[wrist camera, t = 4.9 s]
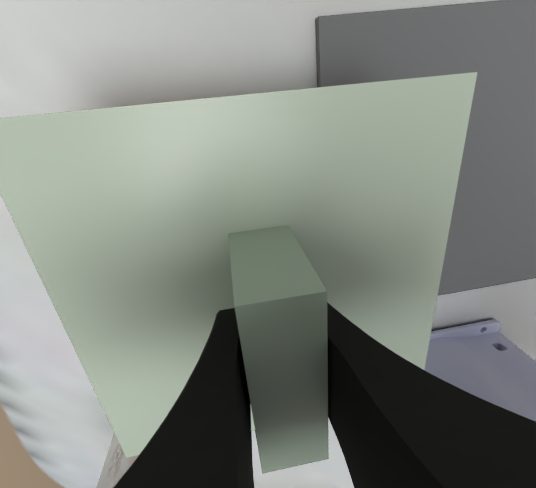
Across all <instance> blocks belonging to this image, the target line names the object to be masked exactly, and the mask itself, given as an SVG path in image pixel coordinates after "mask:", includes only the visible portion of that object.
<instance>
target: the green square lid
mask: <svg viewBox="0 0 536 488" xmlns="http://www.w3.org/2000/svg"><path fill="white" fill-rule="evenodd" d="M476 77H477V72H473V73H462V74H452V75H442V76H431V77H421V78H410V79H400V80H390V81H379V82H369V83H359V84H348V85H338V86H328V87H317V88H307V89H297V90H286V91H276V92H266V93H255V94H245V95H235V96H224V97H214V98H204V99H193V100H183V101H172V102H162V103H152V104H141V105H131V106H121V107H110V108H100V109H90V110H79V111H69V112H59V113H48V114H38V115H28V116H17V117H7V118H0V194H1V196H2V198H3V200H4V203H5V205H6V207H7V209H8V211H9V213H10V215H11V217H12V219H13V221H14V223H15V226H16V228H17V230H18V232H19V234H20V236H21V238H22V240H23V242H24V244H25V246H26V249H27V251H28V253H29V255H30V257H31V259H32V261H33V263H34V265H35V267H36V270H37V272H38V274H39V276H40V278H41V280H42V282H43V284H44V286H45V288H46V290H47V293H48V295H49V297H50V299H51V301H52V303H53V305H54V307H55V309H56V311H57V313H58V316H59V318H60V320H61V322H62V324H63V326H64V328H65V330H66V332H67V334H68V336H69V339H70V341H71V343H72V345H73V347H74V349H75V351H76V353H77V355H78V357H79V360H80V362H81V364H82V366H83V368H84V370H85V372H86V374H87V376H88V378H89V380H90V383H91V385H92V387H93V389H94V391H95V393H96V395H97V397H98V399H99V401H100V403H101V406H102V408H103V410H104V412H105V414H106V416H107V418H108V420H109V422H110V424H111V426H112V429H113V431H114V433H115V435H116V437H117V439H118V441H119V443H120V445H121V447H122V450H123V452H124V454H125V456H126V458H127V457H132V456H137V455H140V453H141V452H142V450H143V449H144V448H145V446H146V445H147V444H148V442H149V441H150V439H151V438H152V436H153V435H154V434H155V432H156V431H157V429H158V428H159V426H160V425H161V424H162V422H163V421H164V419H165V418H166V416H167V415H168V413H169V411H170V410H171V408H172V407H173V405H174V404H175V402H176V400H177V399H178V397H179V395H180V394H181V392H182V390H183V388H184V387H185V385H186V383H187V381H188V379H189V377H190V375H191V374H192V372H193V370H194V368H195V366H196V364H197V362H198V360H199V358H200V356H201V353H202V351H203V349H204V347H205V345H206V342H207V340H208V338H209V335H210V333H211V330H212V327H213V324H214V321H215V318H216V314H217V313H218V312H219V310H224V309H230V308H235V313H236V319H237V325H238V331H239V337H240V343H241V349H242V355H243V361H244V367H245V373H246V379H247V385H248V391H249V397H250V402H251V431H255V432H256V438H257V444H258V450H259V456H260V462H261V468H262V474H263V473H267V472H272V471H276V470H281V469H285V468H290V467H294V466H298V465H303V464H307V463H312V462H316V461H321V460H325V459H328V337H327V302H328V303H329V304H330V305H331V306H333V307H334V308H335V309H336V310H337V311H339V312H340V313H341V314H342V315H343V316H345V317H346V318H347V319H348V320H350V321H351V322H352V323H353V324H355V325H356V326H357V327H359V328H360V329H361V330H363V331H364V332H365V333H367V334H368V335H369V336H371V337H372V338H373V339H375V340H376V341H378V342H379V343H381V344H382V345H384V346H385V347H387V348H388V349H390V350H391V351H393V352H394V353H396V354H398V355H399V356H401V357H402V358H404V359H406V360H408V361H409V362H411V363H413V364H415V365H416V366H418V367H420V368H421V369H423V370H424V369H425V363H426V357H427V352H428V346H429V341H430V335H431V329H432V324H433V318H434V313H435V307H436V301H437V296H438V290H439V285H440V279H441V273H442V268H443V262H444V257H445V251H446V245H447V240H448V234H449V229H450V223H451V217H452V212H453V206H454V201H455V195H456V189H457V184H458V178H459V173H460V167H461V161H462V156H463V150H464V145H465V139H466V133H467V128H468V122H469V117H470V111H471V105H472V100H473V94H474V89H475V83H476Z"/></svg>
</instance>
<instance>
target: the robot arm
mask: <svg viewBox="0 0 536 488" xmlns="http://www.w3.org/2000/svg"><path fill="white" fill-rule="evenodd" d="M500 326H501V324H500V323H499V322H498V321H497V320H488V321H483V322H478V323H473V324H467V325H462V326H457V327H452V328H447V329H441V330H436V331H431V335H430V341H429V346H428V352H427V357H426V363H425V369H424V370H423V369H421V368H420V367H418V366H416V365H415V364H413V363H411V362H409V361H408V360H406V359H404V358H402V357H401V356H399V355H398V354H396V353H394V352H393V351H391V350H390V349H388V348H387V347H385V346H384V345H382V344H381V343H379V342H378V341H376V340H375V339H373V338H372V337H371V336H369V335H368V334H367V333H365V332H364V331H363V330H361V329H360V328H359V327H357V326H356V325H355V324H353V323H352V322H351V321H350V320H348V319H347V318H346V317H345V316H343V315H342V314H341V313H340V312H339V311H337V310H336V309H335V308H334V307H333V306H331V305H330V304H329V303H328V302H327V337H328V417H329V420H330V422H331V424H332V427H333V429H334V431H335V434H336V436H337V439H338V441H339V444H340V446H341V449H342V452H343V454H344V457H345V460H346V463H347V466H348V469H349V472H350V475H351V478H352V482H353V485H354V488H536V361H535V360H533V359H532V358H531V357H530V356H528V355H527V354H526V353H524V352H523V351H522V350H521V349H519V348H518V347H517V346H516V345H514V344H513V343H512V342H511V341H509V340H508V339H507V338H506V337H504V336H503V335H502V334H501V333H499V330H500ZM113 488H254V481H253V467H252V438H251V402H250V397H249V391H248V385H247V379H246V373H245V367H244V361H243V355H242V349H241V343H240V337H239V331H238V325H237V319H236V313H235V308H230V309H224V310H219V312H218V313H217V314H216V318H215V321H214V324H213V327H212V330H211V333H210V335H209V338H208V340H207V342H206V345H205V347H204V349H203V351H202V353H201V356H200V358H199V360H198V362H197V364H196V366H195V368H194V370H193V372H192V374H191V375H190V377H189V379H188V381H187V383H186V385H185V387H184V388H183V390H182V392H181V394H180V395H179V397H178V399H177V400H176V402H175V404H174V405H173V407H172V408H171V410H170V411H169V413H168V415H167V416H166V418H165V419H164V421H163V422H162V424H161V425H160V426H159V428H158V429H157V431H156V432H155V434H154V435H153V436H152V438H151V439H150V441H149V442H148V444H147V445H146V446H145V448H144V449H143V450H142V452H141V453H140V455H139V456H138V457H137V458H136V460H135V461H134V462H133V464H132V465H131V466H130V467H129V469H128V470H127V471H126V472H125V474H124V475H123V476H122V477H121V479H120V480H119V481H118V482H117V483H116V485H115V486H114V487H113Z"/></svg>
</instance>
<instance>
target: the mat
mask: <svg viewBox="0 0 536 488" xmlns="http://www.w3.org/2000/svg"><path fill="white" fill-rule="evenodd" d="M316 50H317V83H318V87H328V86H338V85H348V84H359V83H369V82H379V81H390V80H400V79H410V78H421V77H431V76H442V75H452V74H462V73H473V72H477V77H476V83H475V89H474V94H473V100H472V105H471V111H470V117H469V122H468V128H467V133H466V139H465V145H464V150H463V156H462V161H461V167H460V173H459V178H458V184H457V189H456V195H455V201H454V206H453V212H452V217H451V223H450V229H449V234H448V240H447V245H446V251H445V257H444V262H443V268H442V273H441V279H440V285H439V290H438V296H439V295H444V294H450V293H455V292H461V291H466V290H472V289H477V288H483V287H488V286H494V285H499V284H505V283H510V282H516V281H521V280H527V279H532V278H536V0H501V1H490V2H478V3H467V4H455V5H444V6H433V7H421V8H410V9H398V10H387V11H376V12H364V13H353V14H341V15H330V16H319V17H318V18H317V19H316Z"/></svg>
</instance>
